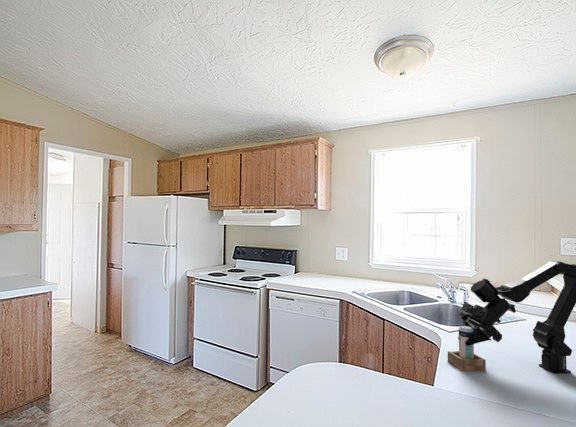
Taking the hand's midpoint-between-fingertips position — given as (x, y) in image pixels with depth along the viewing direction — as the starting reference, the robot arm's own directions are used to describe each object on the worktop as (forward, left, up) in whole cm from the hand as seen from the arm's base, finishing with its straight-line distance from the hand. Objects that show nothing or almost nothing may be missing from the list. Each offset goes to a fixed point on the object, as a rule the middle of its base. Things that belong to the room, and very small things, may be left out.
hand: (462, 342), depth 114 cm
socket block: (-1, 0, -8) cm, 8 cm away
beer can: (-1, 0, -7) cm, 7 cm away
